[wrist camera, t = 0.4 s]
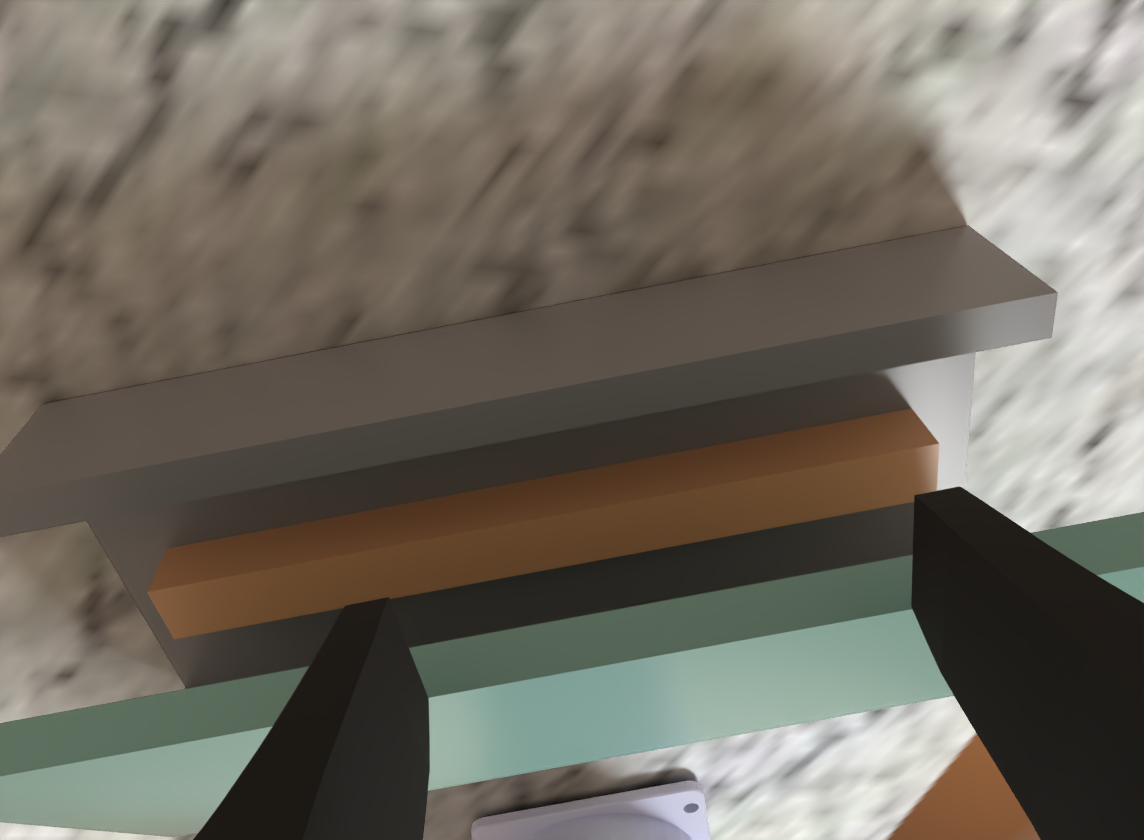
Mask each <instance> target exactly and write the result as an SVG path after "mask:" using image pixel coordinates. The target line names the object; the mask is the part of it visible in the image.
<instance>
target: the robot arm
mask: <svg viewBox="0 0 1144 840" xmlns="http://www.w3.org/2000/svg"><path fill="white" fill-rule="evenodd" d="M911 607H912V609H913V612H914V614H915V616H916V619H917V621H918V623H919V626H920V628H921V630H922V633H923V635H924V637H925V640H926V642H927V644H928V646H929V648H930V651H931V653H932V655H933V657H934V659H935V661H936V664H937V666H938V668H939V670H940V672H941V674H942V676H943V678H944V679H945V681H946V683H947V684H948V686H949V688H950V690H951V691H952V693H953V695H954V696H955V698H956V700H957V701H958V703H959V705H960V706H961V708H962V710H963V711H964V713H965V715H966V716H967V718H968V719H969V721H970V723H971V724H972V726H973V728H974V729H975V731H976V733H977V734H978V736H979V738H980V739H981V741H982V742H983V744H984V746H985V747H986V749H987V751H988V752H989V754H990V756H991V757H992V759H993V760H994V762H995V763H996V765H997V767H998V769H999V770H1000V772H1001V774H1002V775H1003V777H1004V779H1005V780H1006V782H1007V783H1008V785H1009V787H1010V788H1011V790H1012V792H1013V793H1014V795H1015V797H1016V798H1017V800H1018V801H1019V803H1020V805H1021V806H1022V808H1023V810H1024V811H1025V813H1026V814H1027V816H1028V818H1029V819H1030V821H1031V823H1032V825H1033V826H1034V828H1035V830H1036V832H1037V834H1038V835H1039V837H1040V839H1041V840H1144V603H1143V602H1141V601H1140V600H1138V599H1136V598H1134V597H1133V596H1131V595H1129V594H1127V593H1126V592H1124V591H1122V590H1121V589H1119V588H1117V587H1116V586H1114V585H1112V584H1111V583H1109V582H1107V581H1106V580H1104V579H1102V578H1101V577H1099V576H1097V575H1096V574H1094V573H1092V572H1091V571H1089V570H1088V569H1086V568H1084V567H1083V566H1081V565H1080V564H1078V563H1076V562H1075V561H1073V560H1072V559H1070V558H1068V557H1067V556H1065V555H1064V554H1062V553H1061V552H1059V551H1057V550H1056V549H1054V548H1053V547H1051V546H1050V545H1048V544H1046V543H1045V542H1043V541H1042V540H1040V539H1039V538H1037V537H1036V536H1034V535H1033V534H1031V533H1030V532H1028V531H1027V530H1025V529H1024V528H1022V527H1021V526H1019V525H1018V524H1016V523H1015V522H1013V521H1012V520H1010V519H1009V518H1007V517H1006V516H1004V515H1003V514H1001V513H1000V512H998V511H997V510H995V509H994V508H992V507H991V506H989V505H988V504H986V503H985V502H983V501H982V500H980V499H979V498H977V497H976V496H974V495H972V494H971V493H969V492H968V491H966V490H965V489H963V488H962V487H960V486H959V487H954V488H949V489H944V490H938V491H933V492H928V493H923V494H918V495H914V525H913V560H912V596H911ZM429 773H430V731H429V698H428V695H427V693H426V690H425V688H424V685H423V683H422V680H421V678H420V675H419V673H418V670H417V667H416V665H415V662H414V660H413V657H412V655H411V652H410V650H409V647H408V645H407V642H406V639H405V637H404V634H403V632H402V629H401V627H400V624H399V622H398V619H397V617H396V614H395V611H394V609H393V606H392V604H391V601H390V599H389V597H387V598H381V599H376V600H371V601H366V602H361V603H356V604H350V605H345V607H344V608H343V610H342V611H341V612H340V614H339V615H338V617H337V619H336V621H335V622H334V624H333V626H332V627H331V629H330V631H329V633H328V634H327V636H326V638H325V640H324V641H323V643H322V645H321V646H320V648H319V650H318V652H317V653H316V655H315V657H314V659H313V660H312V662H311V664H310V665H309V667H308V669H307V671H306V672H305V674H304V676H303V677H302V679H301V681H300V682H299V684H298V686H297V687H296V689H295V691H294V692H293V694H292V696H291V697H290V699H289V700H288V702H287V704H286V705H285V707H284V708H283V710H282V712H281V713H280V715H279V716H278V718H277V720H276V721H275V723H274V725H273V726H272V728H271V729H270V731H269V733H268V734H267V736H266V737H265V739H264V740H263V742H262V743H261V745H260V747H259V748H258V750H257V751H256V753H255V754H254V755H253V757H252V758H251V760H250V761H249V763H248V764H247V766H246V767H245V768H244V770H243V771H242V773H241V774H240V776H239V777H238V779H237V780H236V782H235V783H234V784H233V786H232V787H231V789H230V790H229V792H228V793H227V795H226V796H225V798H224V799H223V800H222V802H221V803H220V805H219V806H218V807H217V809H216V810H215V811H214V813H213V814H212V815H211V817H210V818H209V819H208V821H207V822H206V824H205V825H204V826H203V828H202V829H201V830H200V831H199V833H198V834H197V835H196V837H195V838H194V839H193V840H423V833H424V823H425V813H426V804H427V794H428V784H429ZM471 837H472V840H711V839H710V832H709V826H708V819H707V812H706V806H705V799H704V793H703V789H702V786H701V784H699V783H698V782H696V781H682V782H677V783H671V784H665V785H660V786H654V787H649V788H643V789H638V790H632V791H627V792H621V793H615V794H610V795H604V796H599V797H593V798H588V799H582V800H577V801H571V802H566V803H560V804H554V805H549V806H543V807H538V808H532V809H527V810H521V811H516V812H510V813H504V814H499V815H493V816H488V817H483V818H479V819H477V820H476V821H474V822H473V824H472V825H471Z"/></svg>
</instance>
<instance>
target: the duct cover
mask: <svg viewBox="0 0 1144 840" xmlns="http://www.w3.org/2000/svg"><path fill="white" fill-rule="evenodd" d="M1031 534H1033V535H1034V536H1036V537H1037V538H1039V539H1040V540H1042V541H1043V542H1045V543H1046V544H1048V545H1050V546H1051V547H1053V548H1054V549H1056V550H1057V551H1059V552H1061V553H1062V554H1064V555H1065V556H1067V557H1068V558H1070V559H1072V560H1073V561H1075V562H1076V563H1078V564H1080V565H1081V566H1083V567H1084V568H1086V569H1088V570H1089V571H1091V572H1092V573H1094V574H1096V575H1097V576H1099V577H1101V578H1102V579H1104V580H1106V581H1107V582H1109V583H1111V584H1112V585H1114V586H1116V587H1117V588H1119V589H1121V590H1122V591H1124V592H1126V593H1127V594H1129V595H1131V596H1133V597H1134V598H1136V599H1138V600H1140V601H1141V602H1143V603H1144V512H1142V513H1136V514H1131V515H1125V516H1120V517H1114V518H1109V519H1104V520H1098V521H1093V522H1087V523H1082V524H1077V525H1071V526H1066V527H1060V528H1055V529H1050V530H1044V531H1039V532H1033V533H1031ZM912 560H913V555H909V556H903V557H898V558H893V559H887V560H882V561H876V562H871V563H866V564H860V565H855V566H849V567H844V568H838V569H833V570H828V571H822V572H817V573H811V574H806V575H801V576H795V577H790V578H784V579H779V580H774V581H768V582H763V583H757V584H752V585H746V586H741V587H736V588H730V589H725V590H719V591H714V592H709V593H703V594H698V595H692V596H687V597H682V598H676V599H671V600H665V601H660V602H654V603H649V604H644V605H638V606H633V607H627V608H622V609H617V610H611V611H606V612H600V613H595V614H590V615H584V616H579V617H573V618H568V619H562V620H557V621H552V622H546V623H541V624H535V625H530V626H525V627H519V628H514V629H508V630H503V631H498V632H492V633H487V634H481V635H476V636H470V637H465V638H460V639H454V640H449V641H443V642H438V643H433V644H427V645H422V646H416V647H411V648H409V650H410V652H411V655H412V657H413V660H414V662H415V665H416V667H417V670H418V673H419V675H420V678H421V680H422V683H423V685H424V688H425V690H426V693H427V695H428V698H429V731H430V773H429V784H428V791H431V790H436V789H442V788H447V787H453V786H458V785H464V784H469V783H475V782H480V781H486V780H491V779H497V778H502V777H508V776H513V775H519V774H524V773H530V772H536V771H541V770H547V769H552V768H558V767H563V766H569V765H574V764H580V763H585V762H591V761H596V760H602V759H607V758H613V757H618V756H624V755H629V754H635V753H640V752H646V751H652V750H657V749H663V748H668V747H674V746H679V745H685V744H690V743H696V742H701V741H707V740H712V739H718V738H723V737H729V736H734V735H740V734H745V733H751V732H756V731H762V730H767V729H773V728H779V727H784V726H790V725H795V724H801V723H806V722H812V721H817V720H823V719H828V718H834V717H839V716H845V715H850V714H856V713H861V712H867V711H872V710H878V709H883V708H889V707H895V706H900V705H906V704H911V703H917V702H922V701H928V700H933V699H939V698H944V697H950V696H954V695H953V693H952V691H951V690H950V688H949V686H948V684H947V683H946V681H945V679H944V678H943V676H942V674H941V672H940V670H939V668H938V666H937V664H936V661H935V659H934V657H933V655H932V653H931V651H930V648H929V646H928V644H927V642H926V640H925V637H924V635H923V633H922V630H921V628H920V626H919V623H918V621H917V619H916V616H915V614H914V612H913V609H912V607H911V596H912ZM308 667H309V666H308ZM308 667H303V668H297V669H292V670H286V671H281V672H276V673H270V674H265V675H259V676H254V677H249V678H243V679H238V680H232V681H227V682H222V683H216V684H211V685H205V686H200V687H194V688H189V689H184V690H178V691H173V692H167V693H162V694H157V695H151V696H146V697H140V698H135V699H130V700H124V701H119V702H113V703H108V704H102V705H97V706H92V707H86V708H81V709H75V710H70V711H65V712H59V713H54V714H48V715H43V716H38V717H32V718H27V719H21V720H16V721H10V722H5V723H0V822H4V823H16V824H27V825H39V826H51V827H62V828H74V829H85V830H97V831H109V832H120V833H132V834H144V835H155V836H167V837H177V836H182V835H188V834H193V833H199V831H200V830H201V829H202V828H203V826H204V825H205V824H206V822H207V821H208V819H209V818H210V817H211V815H212V814H213V813H214V811H215V810H216V809H217V807H218V806H219V805H220V803H221V802H222V800H223V799H224V798H225V796H226V795H227V793H228V792H229V790H230V789H231V787H232V786H233V784H234V783H235V782H236V780H237V779H238V777H239V776H240V774H241V773H242V771H243V770H244V768H245V767H246V766H247V764H248V763H249V761H250V760H251V758H252V757H253V755H254V754H255V753H256V751H257V750H258V748H259V747H260V745H261V743H262V742H263V740H264V739H265V737H266V736H267V734H268V733H269V731H270V729H271V728H272V726H273V725H274V723H275V721H276V720H277V718H278V716H279V715H280V713H281V712H282V710H283V708H284V707H285V705H286V704H287V702H288V700H289V699H290V697H291V696H292V694H293V692H294V691H295V689H296V687H297V686H298V684H299V682H300V681H301V679H302V677H303V676H304V674H305V672H306V671H307V669H308Z"/></svg>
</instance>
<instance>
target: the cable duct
mask: <svg viewBox="0 0 1144 840" xmlns="http://www.w3.org/2000/svg"><path fill="white" fill-rule="evenodd" d="M1057 293H1058V292H1056V291H1055V290H1054V289H1052V288H1051V287H1050V286H1048V285H1047V284H1046V283H1044V282H1043V281H1042V280H1040V279H1039V278H1038V277H1036V276H1035V275H1034V274H1032V273H1031V272H1030V271H1028V270H1027V269H1026V268H1024V267H1023V266H1022V265H1020V264H1019V263H1018V262H1016V261H1015V260H1014V259H1012V258H1011V257H1010V256H1008V255H1007V254H1006V253H1004V252H1003V251H1002V250H1000V249H999V248H998V247H996V246H995V245H994V244H992V243H991V242H990V241H988V240H987V239H986V238H984V237H983V236H982V235H980V234H979V233H978V232H976V231H975V230H974V229H972V228H971V227H970V226H963V227H958V228H953V229H948V230H943V231H937V232H932V233H927V234H922V235H917V236H912V237H906V238H901V239H896V240H891V241H886V242H880V243H875V244H870V245H865V246H860V247H854V248H849V249H844V250H839V251H834V252H829V253H823V254H818V255H813V256H808V257H803V258H797V259H792V260H787V261H782V262H777V263H771V264H766V265H761V266H756V267H751V268H746V269H740V270H735V271H730V272H725V273H720V274H714V275H709V276H704V277H699V278H694V279H689V280H683V281H678V282H673V283H668V284H663V285H657V286H652V287H647V288H642V289H637V290H631V291H626V292H621V293H616V294H611V295H606V296H600V297H595V298H590V299H585V300H580V301H574V302H569V303H564V304H559V305H554V306H548V307H543V308H538V309H533V310H528V311H523V312H517V313H512V314H507V315H502V316H497V317H491V318H486V319H481V320H476V321H471V322H465V323H460V324H455V325H450V326H445V327H440V328H434V329H429V330H424V331H419V332H414V333H408V334H403V335H398V336H393V337H388V338H382V339H377V340H372V341H367V342H362V343H357V344H351V345H346V346H341V347H336V348H331V349H325V350H320V351H315V352H310V353H305V354H299V355H294V356H289V357H284V358H279V359H274V360H268V361H263V362H258V363H253V364H248V365H242V366H237V367H232V368H227V369H222V370H216V371H211V372H206V373H201V374H196V375H191V376H185V377H180V378H175V379H170V380H165V381H159V382H154V383H149V384H144V385H139V386H133V387H128V388H123V389H118V390H113V391H108V392H102V393H97V394H92V395H87V396H82V397H76V398H71V399H66V400H61V401H56V402H50V403H45V404H42V405H41V406H40V408H39V409H38V410H37V411H36V412H35V414H34V415H33V416H32V417H31V419H30V420H29V421H28V422H27V423H26V425H25V426H24V427H23V428H22V429H21V431H20V432H19V433H18V434H17V435H16V437H15V438H14V439H13V440H12V442H11V443H10V444H9V445H8V446H7V448H6V449H5V450H4V451H3V452H2V454H1V455H0V537H3V536H8V535H13V534H19V533H24V532H29V531H34V530H40V529H45V528H50V527H56V526H61V525H66V524H71V523H77V522H82V521H87V522H88V524H89V526H90V528H91V529H92V531H93V533H94V534H95V536H96V538H97V539H98V541H99V543H100V544H101V546H102V548H103V549H104V551H105V553H106V554H107V556H108V558H109V559H110V561H111V563H112V564H113V566H114V568H115V569H116V571H117V573H118V575H119V576H120V578H121V580H122V581H123V583H124V585H125V586H126V588H127V590H128V591H129V593H130V595H131V596H132V598H133V600H134V601H135V603H136V605H137V606H138V608H139V610H140V611H141V613H142V615H143V617H144V618H145V620H146V622H147V623H148V625H149V627H150V628H151V630H152V632H153V633H154V635H155V637H156V638H157V640H158V642H159V643H160V645H161V647H162V648H163V650H164V652H165V653H166V655H167V657H168V658H169V660H170V662H171V664H172V665H173V667H174V669H175V670H176V672H177V674H178V675H179V677H180V679H181V680H182V682H183V684H184V685H185V689H189V688H194V687H200V686H205V685H211V684H216V683H222V682H227V681H232V680H238V679H243V678H249V677H254V676H259V675H265V674H270V673H276V672H281V671H286V670H292V669H297V668H303V667H308V666H309V665H310V664H311V662H312V660H313V659H314V657H315V655H316V653H317V652H318V650H319V648H320V646H321V645H322V643H323V641H324V640H325V638H326V636H327V634H328V633H329V631H330V629H331V627H332V626H333V624H334V622H335V621H336V619H337V617H338V615H339V614H340V612H341V611H342V610H343V608H344V607H345V605H350V604H356V603H361V602H366V601H371V600H376V599H381V598H387V597H389V599H390V601H391V604H392V606H393V609H394V611H395V614H396V617H397V619H398V622H399V624H400V627H401V629H402V632H403V634H404V637H405V639H406V642H407V645H408V647H409V648H411V647H416V646H422V645H427V644H433V643H438V642H443V641H449V640H454V639H460V638H465V637H470V636H476V635H481V634H487V633H492V632H498V631H503V630H508V629H514V628H519V627H525V626H530V625H535V624H541V623H546V622H552V621H557V620H562V619H568V618H573V617H579V616H584V615H590V614H595V613H600V612H606V611H611V610H617V609H622V608H627V607H633V606H638V605H644V604H649V603H654V602H660V601H665V600H671V599H676V598H682V597H687V596H692V595H698V594H703V593H709V592H714V591H719V590H725V589H730V588H736V587H741V586H746V585H752V584H757V583H763V582H768V581H774V580H779V579H784V578H790V577H795V576H801V575H806V574H811V573H817V572H822V571H828V570H833V569H838V568H844V567H849V566H855V565H860V564H866V563H871V562H876V561H882V560H887V559H893V558H898V557H903V556H909V555H913V525H914V495H918V494H923V493H928V492H933V491H938V490H944V489H949V488H954V487H959V486H960V487H962V488H963V489H964V488H965V475H966V463H967V451H968V438H969V426H970V414H971V401H972V389H973V377H974V364H975V352H979V351H984V350H989V349H994V348H1000V347H1005V346H1010V345H1016V344H1021V343H1026V342H1031V341H1037V340H1042V339H1047V338H1052V331H1053V324H1054V316H1055V309H1056V301H1057Z"/></svg>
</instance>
